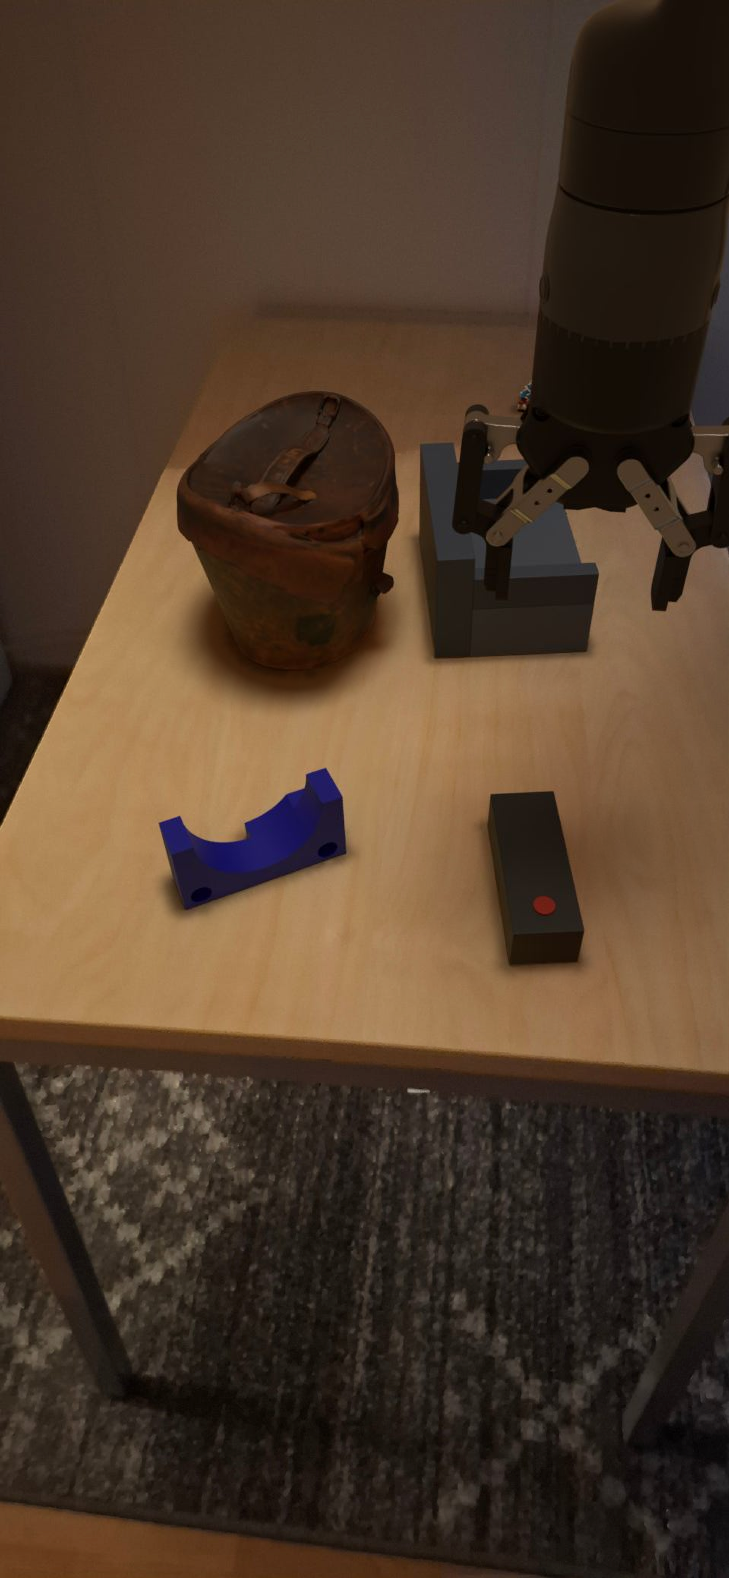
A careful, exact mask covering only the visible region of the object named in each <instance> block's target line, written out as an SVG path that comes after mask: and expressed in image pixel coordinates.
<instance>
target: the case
mask: <svg viewBox="0 0 729 1578" xmlns="http://www.w3.org/2000/svg"><path fill="white" fill-rule="evenodd" d="M197 457H198V458H196V460H194V461H193V463H192V464H190V465H189V466H188V467H187V468H186V470H185V471H184V472H183V473H182V475H181V477H180V480H179V481H178V484H177V488H176V522H177V523H176V525H177V529H178V531H179V533H180V534H181V536H182V537H184V539H186V541H188V542H190V543H191V544H192V546H193V549H194V551H195V554H196V556H197V558H198V560H199V563H200V564H201V567H202V569H203V571H204V573H205V576H206V578H207V580H208V583H209V584H210V587H211V590H212V592H213V594H214V596H215V598H216V601H217V603H218V605H219V608H220V609H221V612H222V614H223V616H224V619H225V621H226V624H227V625H228V628H229V630H230V633H231V636H232V639H233V640H234V642H235V644H236V646H237V647H238V649H239V651H241V653H242V654H243V655H244V656H245V657H247V658H248V659H250V660H251V661H252V662H254V663H256V664H258V665H260V666H264V667H266V668H270V669H275V670H307V669H314V668H319V667H323V666H325V665H329V664H330V663H333V662H335V661H337V660H339V659H341V658H343V657H345V656H347V655H348V654H350V653H351V652H352V651H354V650H355V649H356V648H357V647H358V646H360V644H362V643H363V641H364V640H365V639H366V637H367V636H368V635H369V633H370V631H371V629H372V627H373V623H374V620H375V619H374V618H375V615H376V610H377V604H378V599H379V598H380V596H381V594H382V595H386V594H388V593H389V592H390V591H391V590H392V589H393V588H394V586H395V579H394V577H393V576H392V575H391V574H388V573H386V572H384V568H385V567H384V566H385V562H386V554H387V549H388V543H389V540H390V539H391V538H392V536H393V534H394V532H395V530H396V528H397V525H398V523H399V521H400V520H399V519H400V518H399V515H400V493H399V488H398V484H397V474H396V450H395V447H394V443H393V441H392V439H391V436H390V435H389V433H388V431H387V429H386V428H385V426H384V425H383V424H382V422H381V421H380V420H379V419H378V418H377V416H376V415H375V414H374V413H373V412H371V410H369V409H368V408H366V407H365V406H364V405H362V404H361V403H360V402H358V401H356V400H354V399H352V398H350V397H348V396H346V395H343V394H340V393H337V392H333V391H327V390H309V391H308V390H307V391H301V392H294V393H290V394H288V395H284V396H281V397H279V398H277V399H274V400H272V401H270V402H268V403H265V404H264V405H262V407H260V408H257V409H256V410H254V411H253V412H250V413H249V414H247V415H245V416H244V417H243V418H241V419H239V420H238V421H236V422H235V423H234V424H233V425H232V426H230V427H229V428H228V429H226V430H225V431H224V432H223V433H222V434H221V435H220V436H219V438H217V440H215V441H214V442H212V443H211V444H210V445H208V447H206V448H205V450H204V451H203V452H201V453H200V454H199V455H198V456H197Z"/></svg>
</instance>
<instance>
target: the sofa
mask: <svg viewBox="0 0 729 1578" xmlns="http://www.w3.org/2000/svg"><path fill="white" fill-rule="evenodd" d="M526 464H527V463H526V461H525V460H524V458H521V459H498V460H497V461H495V462H492V463H490V464H487V463H484V465H483V472H482V479H481V487H480V494H479V498H480V499H482V500H485V501H488V502H490V503H494V502H495V501H496V500H497V499H498V498H499V497H500V496H501V495H502V493H503V492H504V491H505V490H506V489H507V488H508V487H509V486H510V485H511V484H512V483H513V481H514V479H515V477H516V475H517V474H518V473H519V472H520V471H521V470H522V469H523V468H524V467H525V465H526ZM458 468H459V461H458V460H457V453H456V449H455V444H454V442H433V443H431V442H430V443H429V442H428V443H420V445H419V511H418V514H419V515H418V516H419V519H418V521H419V522H418V523H419V524H418V525H419V527H418V530H419V531H418V534H419V535H418V541H419V547H420V549H419V550H420V555H421V564H422V571H423V579H424V587H425V593H426V602H427V610H428V617H429V624H430V633H431V641H432V649H433V655H434V659H447V658H469V657H470V658H471V657H472V658H473V657H474V658H475V657H491V656H492V657H493V656H494V657H495V656H496V657H497V656H513V655H514V656H515V655H535V654H536V655H537V654H539V655H540V654H557V653H558V654H559V653H579V652H587V650H588V644H589V639H590V632H591V627H592V620H593V615H594V608H595V601H596V596H597V589H598V583H599V579H600V578H599V577H600V572H599V569H598V565H597V563H596V562H582V559H581V555H580V553H579V550H578V547H577V543H576V540H575V536H574V534H573V531H572V527H571V523H570V519H569V517H568V514H567V511H566V509H563V505H562V504H560V503H557V502H556V501H555V502H554V503H553V504H552V505H551V506H550V507H549V508H548V509H547V510H546V511H545V512H544V513H543V514H542V515H541V516H539V517H538V518H537V519H536V520H535V521H534V522H533V523H527V524H526V525H525V526H524V527H523V528H522V529H521V530H519V531H518V532H517V533H516V534H515V535H514V536H513V549H512V559H511V569H510V580H509V590H508V600H507V602H500V601H495V594H496V592H495V591H486V588H485V586H484V570H485V557H486V543H485V540H484V539H483V538H482V537H481V536H479V535H477V534H474V533H472V532H471V533H469V534H459V533H457V532H456V531H455V530H454V529H453V527H452V520H453V511H454V503H455V494H456V486H457V477H458Z"/></svg>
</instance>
